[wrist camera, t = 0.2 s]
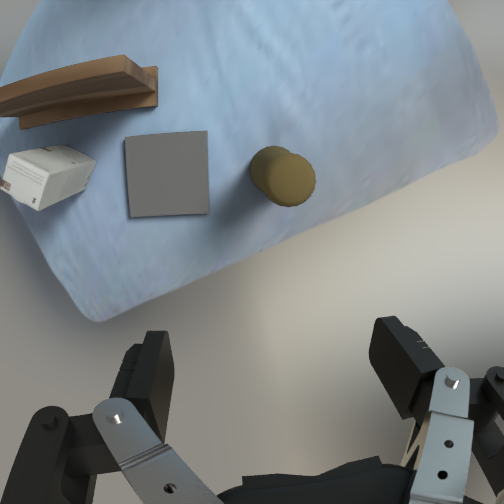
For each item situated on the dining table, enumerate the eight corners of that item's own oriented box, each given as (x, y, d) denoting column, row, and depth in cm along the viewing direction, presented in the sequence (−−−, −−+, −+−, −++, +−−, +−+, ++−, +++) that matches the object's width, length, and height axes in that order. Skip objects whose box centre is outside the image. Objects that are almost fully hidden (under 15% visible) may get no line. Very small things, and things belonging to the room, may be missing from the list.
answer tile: (127, 137, 36) (124, 137, 35) (207, 130, 37) (207, 130, 36) (132, 215, 39) (130, 217, 38) (209, 211, 40) (209, 213, 39)
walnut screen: (24, 95, 32) (-41, 89, 19) (158, 67, 33) (125, 35, 20) (24, 129, 33) (-42, 134, 20) (157, 106, 35) (123, 91, 22)
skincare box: (98, 160, 36) (52, 171, 25) (85, 191, 38) (39, 214, 26) (61, 143, 35) (9, 149, 24) (50, 173, 36) (-2, 190, 25)
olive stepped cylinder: (249, 194, 40) (258, 215, 29) (249, 145, 38) (258, 148, 27) (297, 194, 40) (322, 214, 30) (298, 146, 38) (325, 150, 28)
